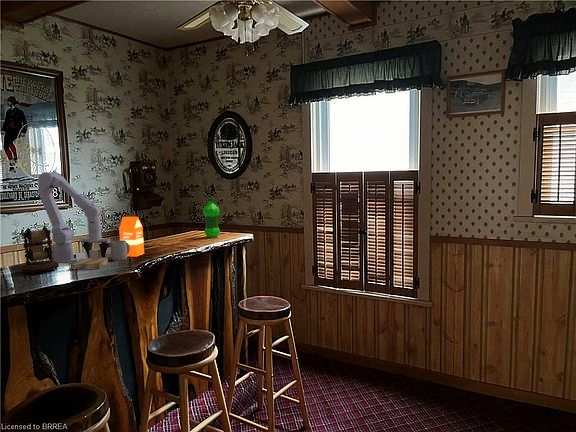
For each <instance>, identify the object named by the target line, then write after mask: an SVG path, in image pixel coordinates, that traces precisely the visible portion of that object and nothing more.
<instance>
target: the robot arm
mask: <svg viewBox="0 0 576 432" xmlns="http://www.w3.org/2000/svg"><path fill="white" fill-rule="evenodd" d="M37 182H38V187H37V192H38V193H37V194H38V195H39V198H40V200H41V202H42V205H43V207H44V210H45V212H46V214H47V216H48V219H49V221H50V224H51V225H52V228H51V229H50V231H51V233H52V235H51V236H52V237H51V240H52V242H54V243H52V244H51V247H52V249H51V250H52V251H53V253H52V257H53V260H52V261H55V262H57V263H59V264H61V263H64V264H65V263H70V262H73V261H78V258H76V257H75V258H74V250H73V239H74V236H75V234H74V232H73V230H72V229H71V228H70V227H69V225H68V224H67V223H65V221H64V218H63V216H62V214H61V212H60V209H59V207H58V204H57V201H56V199H55V198H54V195H53V192H54V189H55V188H60V189H62V190H63V191H64V192H65V193H66V194H67V195H69V197H72V199H73V203H74V204H75V205H76V206H77V207H78V208H79V209H80V210H81V211H83V212H84V213H83V214H84V216H85V217H86V219H87V230H88V231H87V232H88V233H87V234H88V238H81V239H80V244H81V246H82V247H83V249H84V251H85V253H86V256H87V259H90V254H89V250H92V249H93V244H98V247H99V249H100V250H101V257H102V258H106V256H107V255H106V254H107V250H108V247H109V245H110V244H111V243H110V242H111V239H110V238H105V237H102V226H101V217H100V215H102V208H101V207H100V206H99V205H97V204H95V203H94V202H92V201H91V200H90V199H89V198H88V195H84V194H83V193H81V194H80V193H79V192H78V191H77V190H76V189H75V188H74V187H73V185H72V184H70V182H68V181H67V180H66V179H65V177H64V176H63V175H61V174H60V173H59V172H56V171H51V172H49V171H47V172H46V171H45V172H42V173H41V174H40V175H39V176H38V178H37Z"/></svg>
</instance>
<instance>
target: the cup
mask: <svg viewBox="0 0 576 432" xmlns="http://www.w3.org/2000/svg"><path fill="white" fill-rule="evenodd" d="M109 244H110V254H111V256H110V257H111V260H112V261H116V262H117V261H125V260H127V259H128V256H127V255H128V254H129V252H130V245H129V244H128V243H127V242H126V241H125V240H120V239H118V240H111V241H110V243H109ZM126 247H127V249H126Z"/></svg>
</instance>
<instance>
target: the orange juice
mask: <svg viewBox="0 0 576 432" xmlns="http://www.w3.org/2000/svg"><path fill="white" fill-rule="evenodd" d="M118 229H119V230H118V231H119V240H125V241H126V242H127V243H128V244H129V245H130V252H129V254H128V255H127V257H139V256H141V255H145V247H144V244H145V243H144V242H145V241H144V231H143V230H144V229H143V225H142V223H141V220H140V219H139V216H122V219H121V221H120V225H119V228H118ZM126 249H127V247H126Z"/></svg>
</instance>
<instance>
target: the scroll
mask: <svg viewBox="0 0 576 432" xmlns="http://www.w3.org/2000/svg"><path fill="white" fill-rule="evenodd" d="M51 233H52V232H51V229H48V228H47V226H45V225H44V226H42V229H40V230H31V228H30V227H27V228H26V230H25V232H23V233H22V237H23V239H24V240H23V244H22V245H23V249H25V250H24V257H25V264H24V265H23V266H21V267H20V271H21V272H24V273H31V274H32V273H34V274H36V273H37V272H44V271H50V270H53V269H54V270H55V271H58V268H59V266H60V263H57V262H55V261H52V260H53V257H52V253H53V251H52V250H51V249H52V247H51V246H52V245H53V239H52V237H51V236H52V235H51ZM44 245H47V246H44Z"/></svg>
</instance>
